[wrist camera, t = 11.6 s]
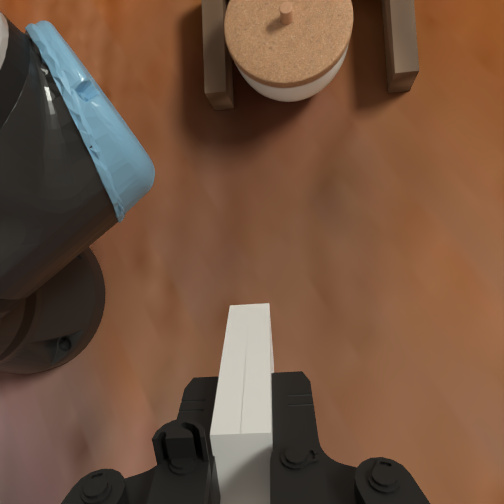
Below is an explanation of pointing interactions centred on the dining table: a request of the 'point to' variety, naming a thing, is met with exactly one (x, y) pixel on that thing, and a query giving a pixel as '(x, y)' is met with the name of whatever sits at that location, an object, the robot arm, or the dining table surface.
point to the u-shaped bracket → (395, 39)
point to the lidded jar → (288, 44)
